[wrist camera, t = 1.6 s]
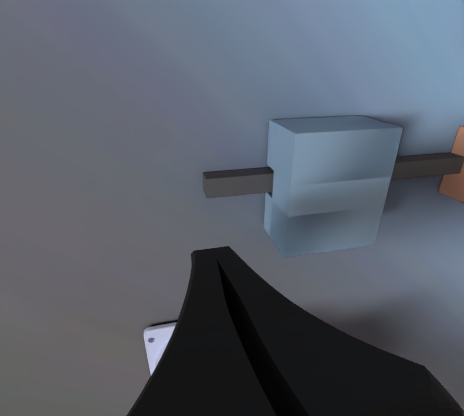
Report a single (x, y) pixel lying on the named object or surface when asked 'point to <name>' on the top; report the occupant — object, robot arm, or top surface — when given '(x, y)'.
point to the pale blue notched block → (328, 182)
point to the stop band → (455, 184)
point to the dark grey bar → (263, 177)
